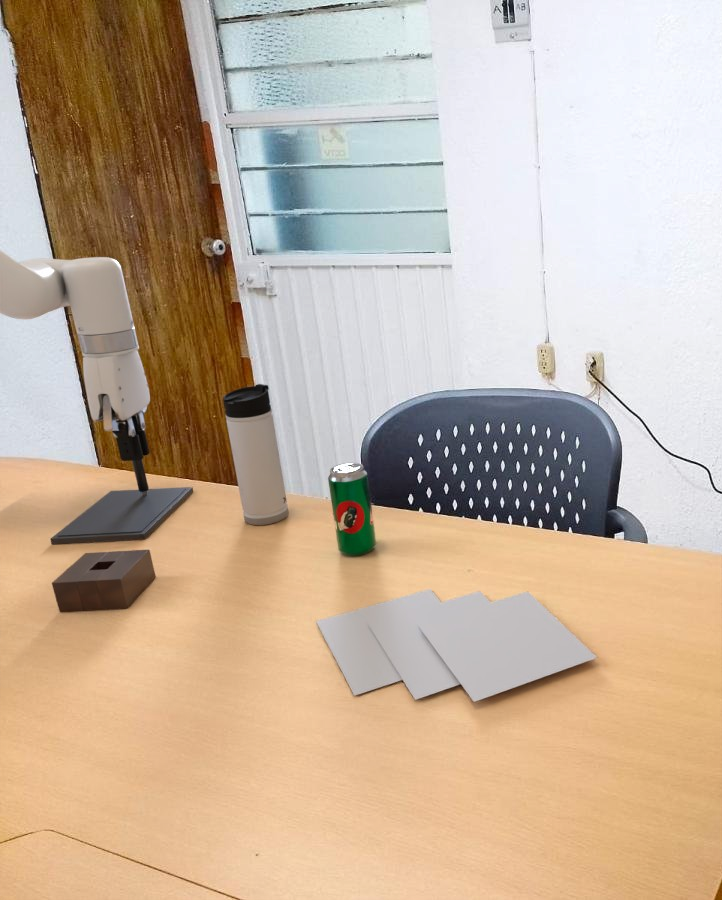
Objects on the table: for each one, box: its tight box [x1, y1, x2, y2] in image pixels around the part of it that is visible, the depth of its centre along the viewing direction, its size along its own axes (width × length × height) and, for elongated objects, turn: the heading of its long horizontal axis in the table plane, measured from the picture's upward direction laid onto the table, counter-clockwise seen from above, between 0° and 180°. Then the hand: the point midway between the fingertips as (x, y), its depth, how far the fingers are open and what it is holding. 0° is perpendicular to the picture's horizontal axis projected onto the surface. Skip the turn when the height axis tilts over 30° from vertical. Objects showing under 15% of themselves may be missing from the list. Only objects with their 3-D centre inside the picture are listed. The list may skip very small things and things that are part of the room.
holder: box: [51, 549, 157, 613], centre depth 103 cm, size 8×8×4 cm
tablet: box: [49, 486, 194, 545], centre depth 127 cm, size 13×18×1 cm
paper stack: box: [315, 588, 598, 703], centre depth 92 cm, size 23×25×1 cm
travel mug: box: [222, 383, 290, 526], centre depth 122 cm, size 6×7×20 cm
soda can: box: [327, 462, 377, 557], centre depth 112 cm, size 5×5×12 cm
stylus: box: [125, 423, 150, 496], centre depth 130 cm, size 1×1×12 cm
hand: (135, 456), depth 130 cm, fingers closed on stylus, 1 cm apart
